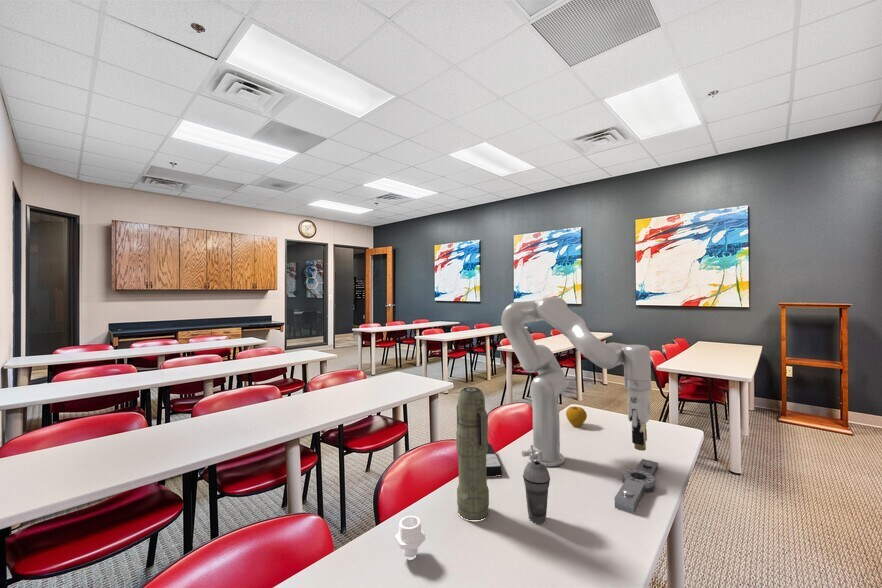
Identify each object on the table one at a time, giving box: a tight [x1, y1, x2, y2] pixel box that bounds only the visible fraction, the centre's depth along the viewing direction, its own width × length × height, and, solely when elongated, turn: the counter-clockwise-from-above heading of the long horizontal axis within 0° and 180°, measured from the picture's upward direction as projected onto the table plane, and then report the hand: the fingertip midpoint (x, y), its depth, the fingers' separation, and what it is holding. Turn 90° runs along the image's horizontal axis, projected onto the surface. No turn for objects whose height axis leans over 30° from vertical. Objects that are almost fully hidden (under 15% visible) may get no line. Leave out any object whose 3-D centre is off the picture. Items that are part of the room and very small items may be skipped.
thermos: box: [455, 386, 490, 520], centre depth 103 cm, size 9×12×35 cm
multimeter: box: [486, 443, 503, 477], centre depth 132 cm, size 13×19×5 cm
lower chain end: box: [622, 458, 659, 494], centre depth 121 cm, size 22×9×2 cm, turn 140°
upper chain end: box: [614, 469, 656, 515], centre depth 111 cm, size 22×9×4 cm, turn 140°
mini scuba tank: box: [522, 444, 551, 525], centre depth 100 cm, size 7×7×20 cm
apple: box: [565, 406, 588, 428], centre depth 168 cm, size 9×9×9 cm
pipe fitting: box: [394, 515, 426, 557], centre depth 87 cm, size 6×7×8 cm
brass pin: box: [633, 420, 647, 452], centre depth 116 cm, size 3×3×9 cm
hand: (639, 441), depth 116 cm, fingers closed on brass pin, 3 cm apart
